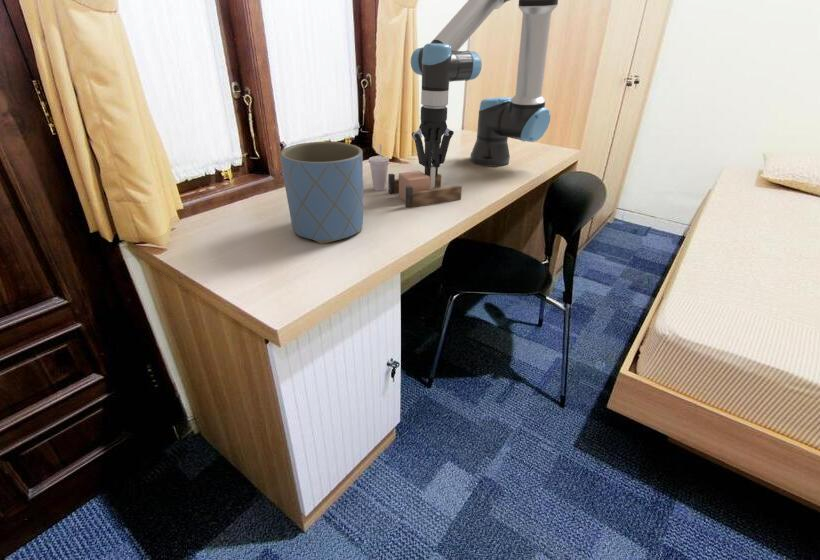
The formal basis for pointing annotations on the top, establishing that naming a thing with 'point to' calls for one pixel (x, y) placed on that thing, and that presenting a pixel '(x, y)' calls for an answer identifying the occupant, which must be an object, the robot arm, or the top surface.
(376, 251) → the top surface
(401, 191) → the block
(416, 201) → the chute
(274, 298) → the top surface
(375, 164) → the smoothie
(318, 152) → the planter
